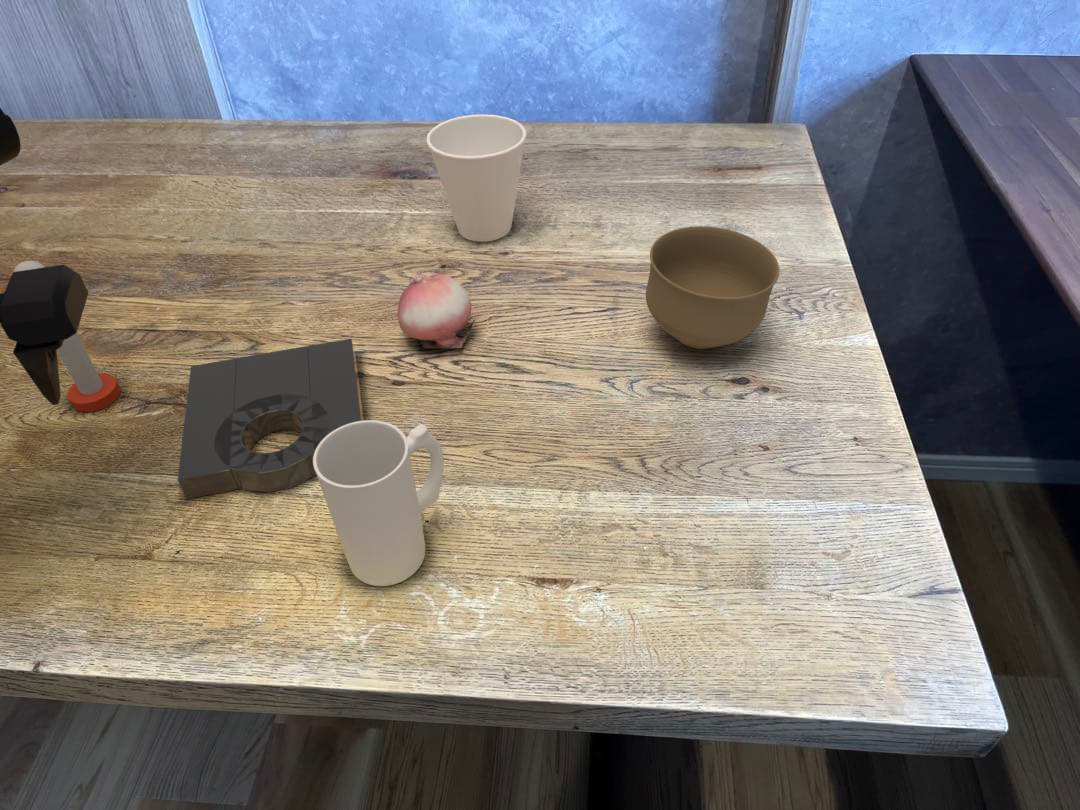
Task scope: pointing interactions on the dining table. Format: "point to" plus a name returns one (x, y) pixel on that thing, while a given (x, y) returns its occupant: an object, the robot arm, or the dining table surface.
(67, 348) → the stopper
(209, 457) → the sink board
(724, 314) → the bowl
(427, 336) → the onion
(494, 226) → the cup
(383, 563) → the mug
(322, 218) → the dining table surface
